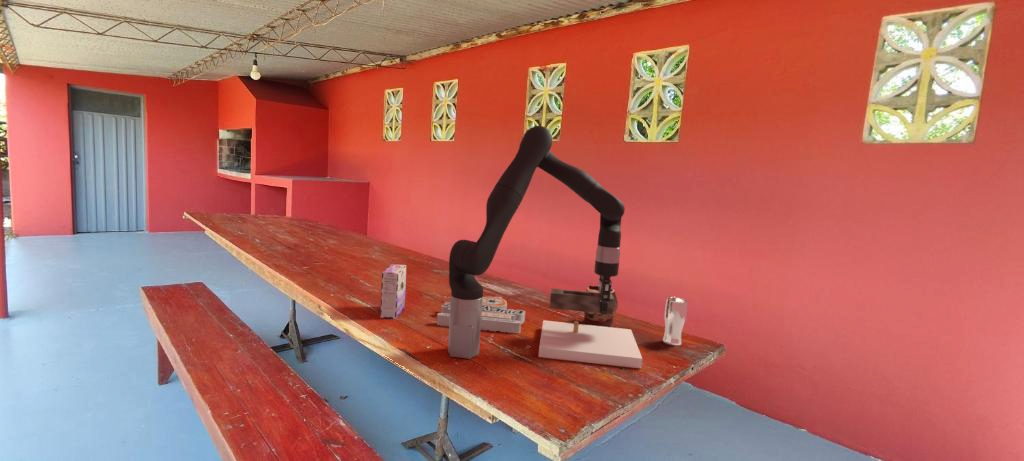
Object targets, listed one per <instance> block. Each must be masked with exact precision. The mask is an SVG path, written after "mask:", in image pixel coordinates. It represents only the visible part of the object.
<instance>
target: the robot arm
mask: <svg viewBox="0 0 1024 461" xmlns="http://www.w3.org/2000/svg"><path fill="white" fill-rule="evenodd" d="M552 145H553V136H552V134H551V132H550V130H549V129H548V128H547V127H546V126H542V125H536V126H532V127H530V128H529V129H528V130H526V132H525V133H524V135H523V137H522V138H521V141H520V143H519V146H518V147H519V148H518V151H517V152H516V154H515V156H514V158H513V160H512V161H511V162H510V164H508V166H507V168H506V169H505V170H504V172H503V173H502V174H501V176H500V178H499V179H498V181H497V182H496V183H495V185H494V187H493V189H492V191H491V192H490V193H489V196H488V198H487V201H486V206H485V207H486V208H485V209H486V212H485V215H486V221H485V225H484V228H483V231H482V233H481V234H480V236H479V237H478V240H477V241H473V240H468V239H459V240H457V241H456V242H455V243H454V244H453V245H452V246H451V249H450V253H449V258H448V284H449V287H450V290H451V291H450V292H451V293H450V302H451V305H450V322H449V326H448V341H447V342H448V345H447V353H448V354H449V357H452V358H462V359H469V360H471V359H473V358H474V357H477V356H479V354H480V344H481V331H482V330H481V316H482V302H483V297H484V287H483V285H482V284H480V283H479V282H478V280H477V278H476V277H475V276H482V275H483V274H484V273H485V272H486V271H487V270H488V269H489V268H490V267H491V264H492V262H493V260H494V257H495V256H496V252H497V250H498V248H499V245H500V244H501V240H502V239H503V236H504V235H505V232H506V231H507V228H508V226H509V224H511V220H512V219H513V217H514V215H515V214H516V213H517V210H518V209H519V207H520V205H521V203H522V201H523V199H524V197H525V195H526V193H527V191H528V188H529V186H530V185H531V184H530V183H531V181H532V179H533V176H534V174H535V172H536V170H537V168H539V169H541V170H542V171H543V172H545V173H547V174H549V175H550V176H552V177H554V178H555V179H557V181H559V182H561V183H562V184H564V185H565V186H566V187H568V188H569V189H570V190H572V191H573V192H574V193H575V194H576V195H577V196H579V197H580V198H581V199H582V200H584V201H585V202H586V203H588V204H590V206H592V207H593V209H594V210H595V211H597V212H598V213H599V214H600V215H599V216H600V217H599V231H598V235H597V236H598V238H597V247H596V250H595V260H594V262H595V263H594V270H593V271H594V272H593V273H594V274H596V275H598V276H599V278H598V286H599V287H598V292H599V294H600V295H601V299H600V301H601V304H600V313H601V314H607V307H608V302H609V301H610V294H611V289H612V286H613V282H612V279H611V278H612V277H617V276H618V275H619V269H620V268H619V267H620V259H621V241H622V240H621V239H622V232H621V225H622V218H623V216H624V214H625V205H624V203H623V202H622V201H621V200H620V199H619V198H618V197H616V196H615V195H614V194H612V193H611V192H609V191H608V190H607V189H605V188H604V187H603V186H602V184H600V183H599V182H598V181H597V180H596V179H595V178H593V176H591V175H590V174H589V173H588V172H586V171H584V170H582V169H581V168H579V167H576V166H573V165H571V164H569V163H567V162H565V161H563V160H561V159H560V158H559V157H557V156H556V155H555V154H553V152H551V148H552ZM604 295H606V296H607V298H603V296H604Z"/></svg>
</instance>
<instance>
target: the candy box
mask: <svg viewBox="0 0 1024 461" xmlns="http://www.w3.org/2000/svg"><path fill="white" fill-rule="evenodd" d="M406 279H407V265H406V264H396V263H392V264H390V265H389V266H388V267H387V268H385V269H384V270H382V272H381V285H380V286H381V287H380V289H381V290H380V308H379V309H380V311H379V313H380V314H379V318H381V319H388V320H389V319H393V320H396V319H397V318H398V317H399V316H400V314H401V313H402V312H403V310H404V309H405V307H406V306H405V305H406V289H407V288H406V286H407V284H406V282H407V280H406Z"/></svg>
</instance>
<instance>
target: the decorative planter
mask: <svg viewBox="0 0 1024 461" xmlns="http://www.w3.org/2000/svg"><path fill="white" fill-rule="evenodd" d="M598 287H599V285H589V286H588V287H586V291H585V292H594V293H599V292H598ZM611 294H612V295H613V298H614V305H613V314H601V313H593V312H584V315H583V317H584V318H583V322H582V324H583V325H593V326H602V327H612V324H613V320H614V317H615V315H616V312H617V310H618V307H619V304H618V303H619V302H618V297H617V294H616V290H615V289H612V288H611Z"/></svg>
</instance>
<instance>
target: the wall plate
mask: <svg viewBox="0 0 1024 461" xmlns="http://www.w3.org/2000/svg"><path fill="white" fill-rule="evenodd" d="M540 333H541V334H540V341H539V346H538V347H539V348H538V358H545V359H553V360H561V361H562V360H563V361H570V362H571V361H572V362H580V363H590V364H591V363H592V364H596V365H597V364H598V365H605V366H607V365H608V366H615V367H623V368H624V367H625V368H634V369H642V364H643V357H642V353H641V351H640V348H639V347H638V343H637V342H636V341H637V340H636V338H635V336H634V334H633V331H632V329H630V328H629V329H628V328H620V327H613V326H611V327H602V326H593V325H584V323H580V321H578V320H574V321H573V322H561V321H554V320H553V321H552V320H542V327H541V332H540Z"/></svg>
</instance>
